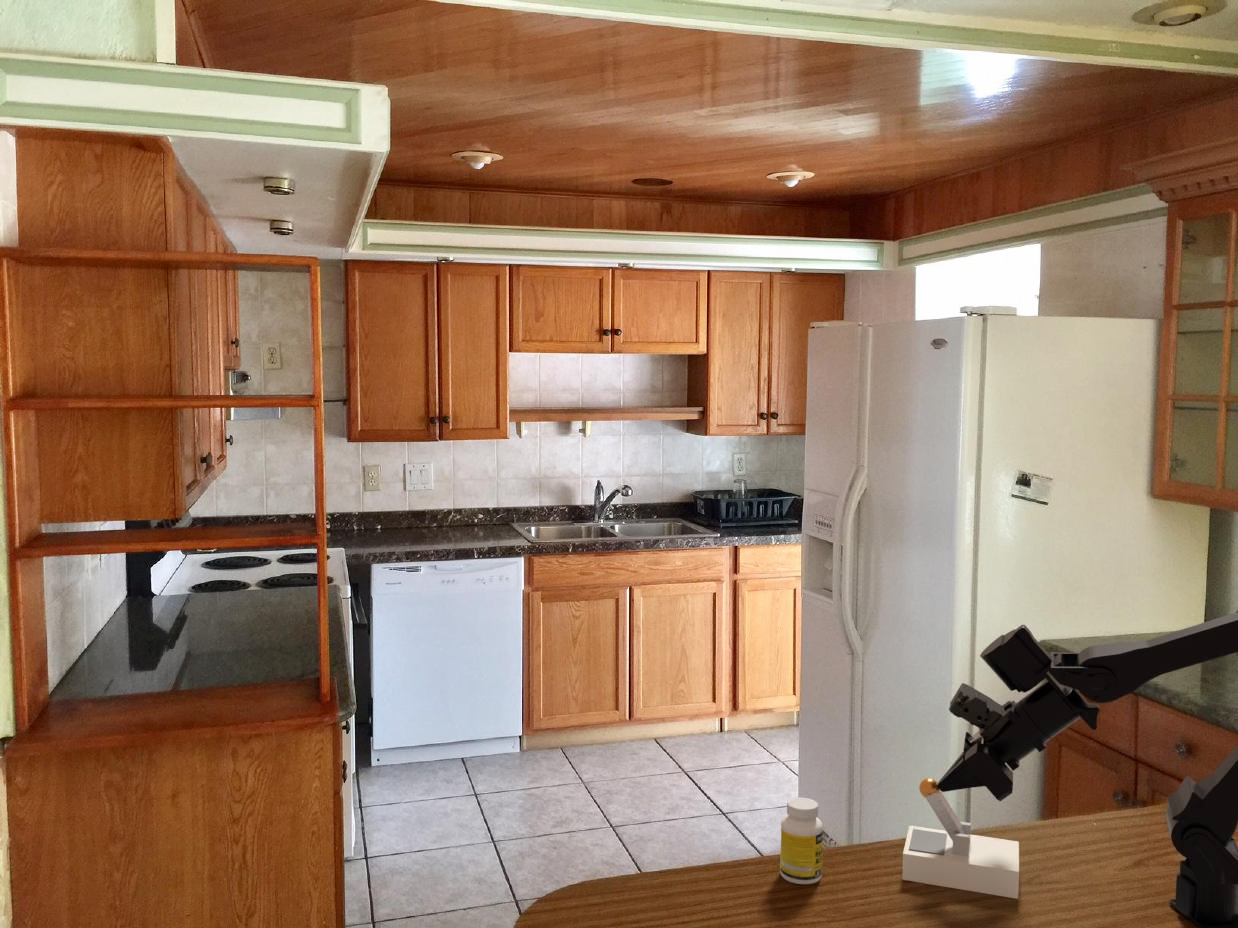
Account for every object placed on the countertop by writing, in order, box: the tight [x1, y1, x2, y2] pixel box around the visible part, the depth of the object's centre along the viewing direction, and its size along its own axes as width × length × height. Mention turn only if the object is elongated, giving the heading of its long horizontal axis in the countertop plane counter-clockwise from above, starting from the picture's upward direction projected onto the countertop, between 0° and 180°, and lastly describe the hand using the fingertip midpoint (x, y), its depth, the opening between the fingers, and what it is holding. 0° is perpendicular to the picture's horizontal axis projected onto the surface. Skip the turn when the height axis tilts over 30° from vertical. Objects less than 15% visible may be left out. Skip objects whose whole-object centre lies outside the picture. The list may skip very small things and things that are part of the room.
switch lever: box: [918, 777, 965, 841], centre depth 135 cm, size 3×3×10 cm
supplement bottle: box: [779, 797, 824, 885], centre depth 134 cm, size 5×5×10 cm
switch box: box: [902, 821, 1020, 900], centre depth 135 cm, size 14×9×6 cm, turn 69°
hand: (939, 787), depth 135 cm, fingers closed, pressing on switch lever
